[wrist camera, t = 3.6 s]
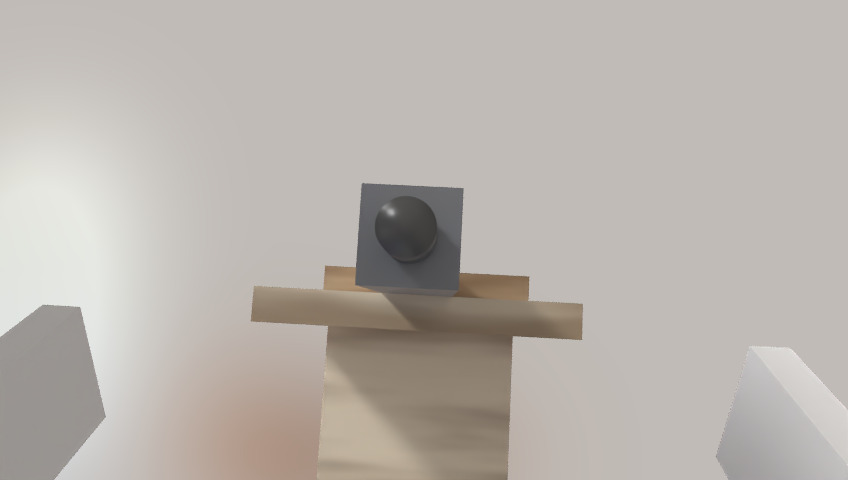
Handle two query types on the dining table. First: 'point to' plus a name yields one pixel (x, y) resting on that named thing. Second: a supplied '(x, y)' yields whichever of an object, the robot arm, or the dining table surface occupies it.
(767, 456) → the robot arm
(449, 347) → the wooden pedestal stand
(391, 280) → the grey long square-ended piece
